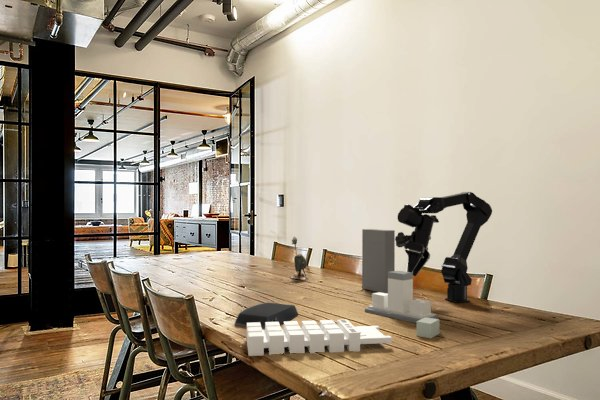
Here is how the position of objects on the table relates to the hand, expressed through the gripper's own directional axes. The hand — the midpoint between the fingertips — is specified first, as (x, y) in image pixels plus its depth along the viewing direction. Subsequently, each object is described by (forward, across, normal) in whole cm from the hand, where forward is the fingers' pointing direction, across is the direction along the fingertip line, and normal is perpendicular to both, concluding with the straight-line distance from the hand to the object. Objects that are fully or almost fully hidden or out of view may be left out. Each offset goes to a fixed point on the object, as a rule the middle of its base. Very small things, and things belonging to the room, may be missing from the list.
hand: (412, 274), depth 165 cm
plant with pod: (+13, -42, -58) cm, 73 cm away
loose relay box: (+17, +31, +14) cm, 38 cm away
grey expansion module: (+13, +12, +1) cm, 17 cm away
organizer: (+27, +51, -9) cm, 58 cm away
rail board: (+14, +11, +2) cm, 18 cm away
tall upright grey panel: (+8, -27, -16) cm, 33 cm away
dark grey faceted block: (+28, +33, -32) cm, 54 cm away
